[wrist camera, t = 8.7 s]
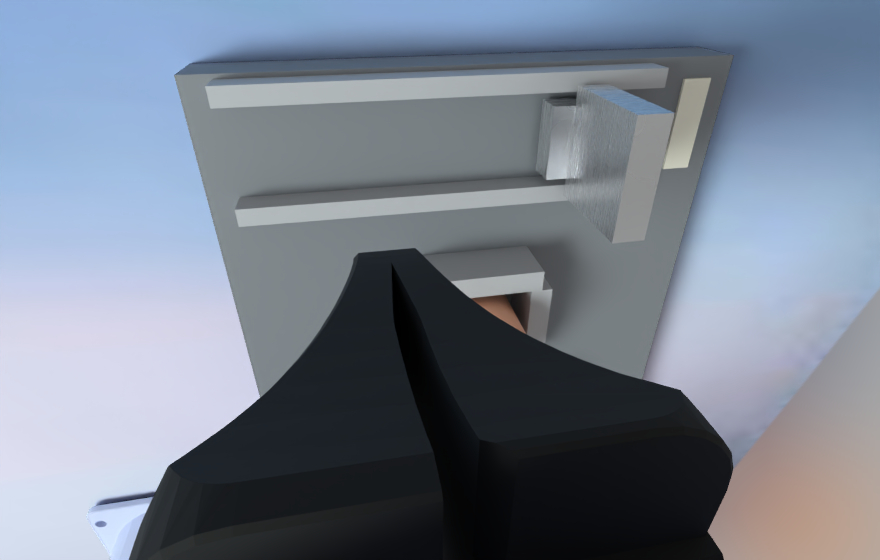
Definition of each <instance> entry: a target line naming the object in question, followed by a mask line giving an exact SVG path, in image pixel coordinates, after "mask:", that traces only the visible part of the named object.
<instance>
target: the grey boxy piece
mask: <svg viewBox="0 0 880 560" xmlns="http://www.w3.org/2000/svg"><path fill="white" fill-rule="evenodd" d="M674 114H675V113H674V112H671V111H669V110H667V109H664V108H662V107H660V106H658V105H655V104H653V103H651V102H648V101H646V100H644V99H641V98H639V97H637V96H635V95H632V94H630V93H628V92H625V91H623V90H621V89H618V88H616V87H614V86H612V85H609V84H602V85H579V86H578V91H577V98H563V99H543V105H542V114H541V124H540V134H539V144H538V154H537V164H536V171H537V172H538V173H539V174H540V175H541V176H542V177H543V178H544V179H545V180H553V179H566V180H565V187H564V194H563V195H564V196H565V197H566V198H567V199H568V200H569V201H570V202H571V203H572V204H573V205H574V206H575V207H576V208H577V209H578V210H579V211H580V212H581V213H582V214H583V215H584V216H585V217H586V218H587V219H588V220H589V221H590V222H591V223H592V224H593V225H594V226H595V227H596V228H597V229H598V230H599V231H600V232H601V233H602V234H603V235H604V236H605V237H606V238H607V239H608V240H609V241H610V242H611V243H622V242H632V241H642V240H644V239H645V235H646V231H647V227H648V223H649V219H650V214H651V210H652V206H653V202H654V198H655V193H656V189H657V185H658V181H659V177H660V172H661V168H662V164H663V160H664V156H665V152H666V147H667V143H668V139H669V135H670V131H671V126H672V122H673V118H674Z"/></svg>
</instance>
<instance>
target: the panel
mask: <svg viewBox="0 0 880 560" xmlns="http://www.w3.org/2000/svg"><path fill="white" fill-rule="evenodd" d="M733 56H734V55H731V54H727V53H723V52H718V51H714V50H710V49H705V48H701V47H680V48H650V49H619V50H589V51H558V52H528V53H497V54H467V55H436V56H406V57H375V58H345V59H314V60H283V61H253V62H222V63H192V64H189V65H187V66H186V67H185V68H183V69H182V70H181V71H179V72H178V73H176V74H175V75H174V76H175V80H176V84H177V88H178V91H179V95H180V99H181V103H182V106H183V110H184V114H185V118H186V121H187V125H188V129H189V133H190V136H191V140H192V144H193V148H194V151H195V155H196V159H197V163H198V166H199V170H200V174H201V177H202V181H203V185H204V189H205V192H206V196H207V200H208V204H209V207H210V211H211V215H212V219H213V222H214V226H215V230H216V234H217V237H218V241H219V245H220V249H221V252H222V256H223V260H224V264H225V267H226V271H227V275H228V279H229V282H230V286H231V290H232V294H233V297H234V301H235V305H236V309H237V312H238V316H239V320H240V324H241V327H242V331H243V335H244V339H245V342H246V346H247V350H248V353H249V357H250V361H251V365H252V368H253V372H254V376H255V380H256V383H257V387H258V391H259V395H260V398H261V397H262V396H263V395H264V394H265V393H266V392H267V391H268V390H269V389H270V388H271V387H272V386H273V385H274V384H275V383H276V382H277V381H278V380H279V379H280V378H281V377H282V376H283V375H284V374H285V373H286V371H287V370H288V369H289V368H290V367H291V366H292V365H293V364H294V363H295V362H296V360H297V359H298V358H299V357H300V356H301V354H302V353H303V352H304V351H305V349H306V348H307V347H308V346H309V344H310V343H311V342H312V340H313V339H314V337H315V336H316V335H317V333H318V332H319V330H320V329H321V327H322V326H323V324H324V322H325V321H326V319H327V318H328V316H329V314H330V313H331V311H332V309H333V308H334V306H335V304H336V302H337V300H338V298H339V296H340V294H341V292H342V290H343V288H344V286H345V284H346V282H347V279H348V277H349V274H350V271H351V268H352V265H353V258H354V257H355V256H356V255H357V254H358V253H363V252H375V251H386V250H397V249H409V248H416V249H417V250H418V251H419V252H420V253H421V254H422V255H423V256H424V257H425V258H426V259H427V260H428V261H429V262H430V263H431V264H432V265H433V266H434V267H435V268H436V269H437V270H439V271H440V272H441V273H442V274H443V275H444V276H445V277H446V278H447V279H448V280H449V281H450V282H452V283H453V284H454V285H455V286H456V287H457V288H459V289H460V290H461V291H462V292H463V293H464V294H466V295H467V296H468V297H469V298H476V297H485V296H495V295H504V294H505V295H506V297H507V299H508V301H509V303H510V305H511V307H512V308H513V310H514V312H515V314H516V316H517V318H518V320H519V322H520V324H521V325H522V327H523V329H524V331H525V333H526V334H527V335H529V336H531V337H533V338H535V339H537V340H539V341H541V342H543V343H545V344H547V345H549V346H551V347H554V348H556V349H558V350H560V351H562V352H564V353H567V354H569V355H572V356H574V357H577V358H579V359H582V360H584V361H587V362H590V363H592V364H595V365H598V366H601V367H604V368H606V369H609V370H612V371H615V372H618V373H621V374H624V375H628V376H631V377H635V378H638V379H642V378H643V374H644V371H645V367H646V363H647V360H648V356H649V353H650V349H651V346H652V342H653V339H654V335H655V332H656V328H657V325H658V321H659V318H660V314H661V310H662V307H663V303H664V300H665V296H666V293H667V289H668V286H669V282H670V279H671V275H672V272H673V268H674V265H675V261H676V257H677V254H678V250H679V247H680V243H681V240H682V236H683V233H684V229H685V226H686V222H687V219H688V215H689V212H690V208H691V204H692V201H693V197H694V194H695V190H696V187H697V183H698V180H699V176H700V173H701V169H702V166H703V162H704V159H705V155H706V151H707V148H708V144H709V141H710V137H711V134H712V130H713V127H714V123H715V120H716V116H717V113H718V109H719V106H720V102H721V98H722V95H723V91H724V88H725V84H726V81H727V77H728V74H729V70H730V67H731V63H732V60H733ZM602 84H609V85H612V86H614V87H616V88H618V89H621V90H623V91H625V92H628V93H630V94H632V95H635V96H637V97H639V98H641V99H644V100H646V101H648V102H651V103H653V104H655V105H658V106H660V107H662V108H664V109H667V110H669V111H671V112H674V113H675V114H674V118H673V122H672V126H671V131H670V135H669V139H668V143H667V147H666V152H665V156H664V160H663V164H662V168H661V172H660V177H659V181H658V185H657V189H656V193H655V198H654V202H653V206H652V210H651V214H650V219H649V223H648V227H647V231H646V235H645V239H644V240H642V241H632V242H622V243H611V242H610V241H609V240H608V239H607V238H606V237H605V236H604V235H603V234H602V233H601V232H600V231H599V230H598V229H597V228H596V227H595V226H594V225H593V224H592V223H591V222H590V221H589V220H588V219H587V218H586V217H585V216H584V215H583V214H582V213H581V212H580V211H579V210H578V209H577V208H576V207H575V206H574V205H573V204H572V203H571V202H570V201H569V200H568V199H567V198H566V197H565V196H564V195H563V194H564V187H565V180H566V179H553V180H545V179H544V178H543V177H542V176H541V175H540V174H539V173H538V172H537V171H536V164H537V154H538V144H539V134H540V124H541V114H542V105H543V99H563V98H577V91H578V86H579V85H602Z"/></svg>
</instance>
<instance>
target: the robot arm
mask: <svg viewBox="0 0 880 560" xmlns="http://www.w3.org/2000/svg"><path fill="white" fill-rule="evenodd" d="M732 471H733V462H732V452H731V451H730V450H729V448H728V447H727V445H726V444H725V442H724V441H723V439H722V438H721V437H720V436H719V434H718V433H717V432H716V431H715V430H714V428H713V427H712V426H711V425H710V423H709V422H708V421H707V420H706V419H705V417H704V416H703V415H702V414H701V413H700V411H699V410H698V409H697V408H696V407H695V406H694V405H693V403H692V402H691V401H690V400H689V399H688V398H687V397H686V396H685V395H684V394H683V393H682V392H681V390H678V389H674V388H671V387H667V386H664V385H660V384H656V383H653V382H649V381H646V380H642V379H638V378H635V377H631V376H628V375H624V374H621V373H618V372H615V371H612V370H609V369H606V368H604V367H601V366H598V365H595V364H592V363H590V362H587V361H584V360H582V359H579V358H577V357H574V356H572V355H569V354H567V353H564V352H562V351H560V350H558V349H556V348H554V347H551V346H549V345H547V344H545V343H543V342H541V341H539V340H537V339H535V338H533V337H531V336H529V335H527V334H525V333H523V332H521V331H520V330H518V329H516V328H514V327H513V326H511V325H509V324H508V323H506V322H504V321H503V320H501V319H499V318H498V317H496V316H495V315H493V314H492V313H490V312H489V311H487V310H486V309H484V308H483V307H482V306H480V305H479V304H477V303H476V302H475V301H473V300H472V299H471V298H469V297H468V296H467V295H466V294H464V293H463V292H462V291H461V290H460V289H459V288H457V287H456V286H455V285H454V284H453V283H452V282H450V281H449V280H448V279H447V278H446V277H445V276H444V275H443V274H442V273H441V272H440V271H439V270H437V269H436V268H435V267H434V266H433V265H432V264H431V263H430V262H429V261H428V260H427V259H426V258H425V257H424V256H423V255H422V254H421V253H420V252H419V251H418V250H417V249H416V248H409V249H397V250H386V251H375V252H363V253H358V254H357V255H356V256H355V257H354V258H353V265H352V268H351V271H350V274H349V277H348V279H347V282H346V284H345V286H344V288H343V290H342V292H341V294H340V296H339V298H338V300H337V302H336V304H335V306H334V308H333V309H332V311H331V313H330V314H329V316H328V318H327V319H326V321H325V322H324V324H323V326H322V327H321V329H320V330H319V332H318V333H317V335H316V336H315V337H314V339H313V340H312V342H311V343H310V344H309V346H308V347H307V348H306V349H305V351H304V352H303V353H302V354H301V356H300V357H299V358H298V359H297V360H296V362H295V363H294V364H293V365H292V366H291V367H290V368H289V369H288V370H287V371H286V373H285V374H284V375H283V376H282V377H281V378H280V379H279V380H278V381H277V382H276V383H275V384H274V385H273V386H272V387H271V388H270V389H269V390H268V391H267V392H266V393H265V394H264V395H263V396H262V397H261V398H259V399H258V400H257V401H256V402H255V403H254V404H253V405H251V406H250V407H249V408H248V409H247V410H245V411H244V412H243V413H242V414H240V415H239V416H238V417H237V418H236V419H234V420H233V421H232V422H230V423H229V424H228V425H227V426H225V427H224V428H223V429H221V430H220V431H218V432H217V433H216V434H214V435H213V436H211V437H210V438H208V439H207V440H206V441H204V442H203V443H201V444H200V445H198V446H197V447H196V448H194V449H193V450H191V451H190V452H188V453H187V454H186V455H184V456H183V457H181V458H180V459H178V460H177V461H175V462H174V463H172V464H170V465H169V466H168V468H167V470H166V472H165V474H164V476H163V478H162V480H161V482H160V484H159V486H158V488H157V490H156V493H155V495H154V496H153V497H150V498H143V499H137V500H130V501H124V502H117V503H111V504H105V505H98V506H94V507H92V508H90V509H89V512H88V514H87V516H86V518H87V520H88V522H89V523H90V525H91V526H92V528H93V530H94V531H95V533H96V534H97V536H98V538H99V539H100V541H101V542H102V544H103V545H104V547H105V549H106V550H107V552H108V553H109V555H110V558H109V560H724V559H723V554H722V552H721V551H720V549H719V548H718V546H717V545H716V544H715V542H714V541H713V539H712V538H711V536H710V535H709V533H708V532H707V531H708V529H709V527H710V525H711V523H712V521H713V519H714V516H715V514H716V512H717V510H718V508H719V506H720V504H721V502H722V499H723V498H724V496H725V493H726V491H727V488H728V485H729V482H730V479H731V475H732Z"/></svg>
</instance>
